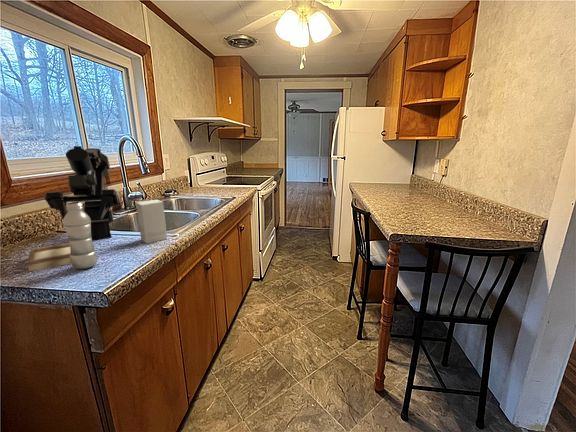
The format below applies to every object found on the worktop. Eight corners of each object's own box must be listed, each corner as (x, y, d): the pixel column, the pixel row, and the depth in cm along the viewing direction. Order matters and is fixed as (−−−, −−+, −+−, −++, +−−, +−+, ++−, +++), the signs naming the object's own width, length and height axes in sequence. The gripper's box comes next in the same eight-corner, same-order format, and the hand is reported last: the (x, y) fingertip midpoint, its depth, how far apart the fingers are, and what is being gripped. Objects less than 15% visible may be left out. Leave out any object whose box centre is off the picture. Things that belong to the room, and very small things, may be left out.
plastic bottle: (103, 264, 85) (93, 201, 80) (81, 273, 79) (69, 205, 74) (89, 261, 87) (78, 200, 82) (66, 270, 81) (53, 204, 76)
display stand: (81, 249, 97) (80, 241, 96) (84, 260, 87) (82, 252, 87) (32, 257, 89) (30, 249, 88) (29, 271, 79) (27, 262, 79)
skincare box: (161, 235, 113) (158, 199, 110) (168, 239, 109) (164, 201, 105) (140, 240, 108) (135, 201, 104) (145, 244, 103) (140, 204, 99)
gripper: (40, 165, 82) (34, 208, 75) (112, 165, 90) (113, 203, 83) (53, 188, 91) (49, 228, 84) (118, 185, 99) (119, 222, 92)
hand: (83, 220), depth 86 cm, fingers open, 9 cm apart
